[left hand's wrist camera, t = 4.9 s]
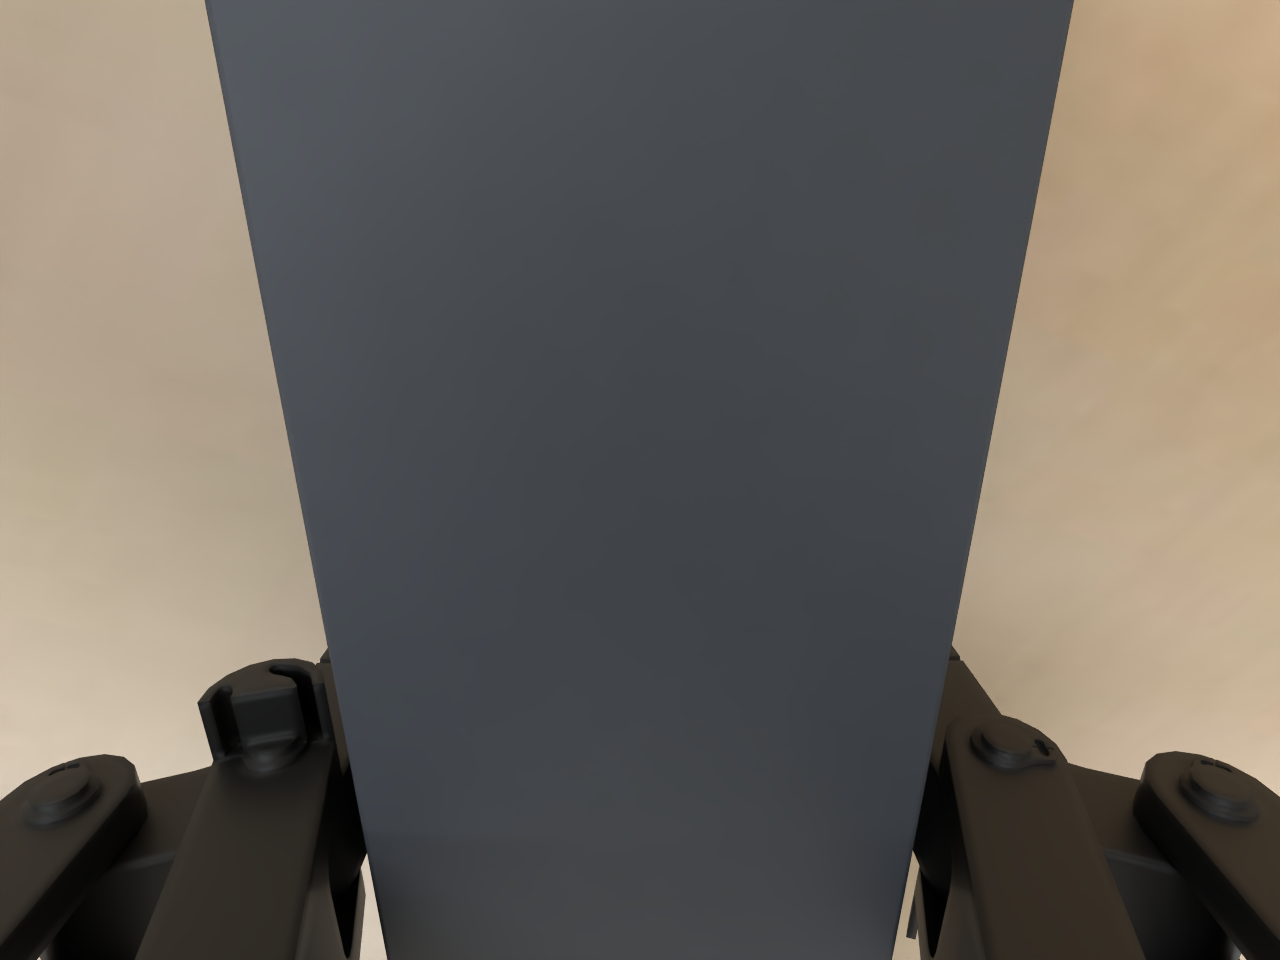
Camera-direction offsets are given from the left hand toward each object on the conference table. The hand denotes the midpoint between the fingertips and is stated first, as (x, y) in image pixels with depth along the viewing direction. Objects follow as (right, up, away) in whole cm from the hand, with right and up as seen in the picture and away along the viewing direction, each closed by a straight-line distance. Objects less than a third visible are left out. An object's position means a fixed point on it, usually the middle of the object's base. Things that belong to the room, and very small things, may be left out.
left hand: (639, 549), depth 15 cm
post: (0, +30, -11) cm, 31 cm away
